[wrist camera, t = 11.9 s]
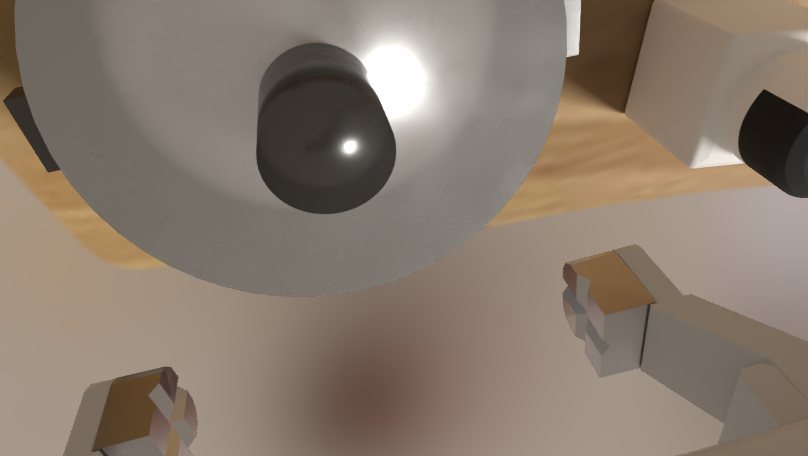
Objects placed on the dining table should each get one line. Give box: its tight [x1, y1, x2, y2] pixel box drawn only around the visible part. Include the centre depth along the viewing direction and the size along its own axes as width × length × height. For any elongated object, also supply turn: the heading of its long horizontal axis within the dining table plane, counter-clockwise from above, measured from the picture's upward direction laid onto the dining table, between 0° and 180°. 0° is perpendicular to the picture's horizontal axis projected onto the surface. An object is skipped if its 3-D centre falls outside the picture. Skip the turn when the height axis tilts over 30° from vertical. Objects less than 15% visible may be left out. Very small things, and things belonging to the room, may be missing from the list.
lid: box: [14, 0, 567, 297], centre depth 18 cm, size 18×18×5 cm
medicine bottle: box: [625, 0, 808, 198], centre depth 29 cm, size 7×7×12 cm
